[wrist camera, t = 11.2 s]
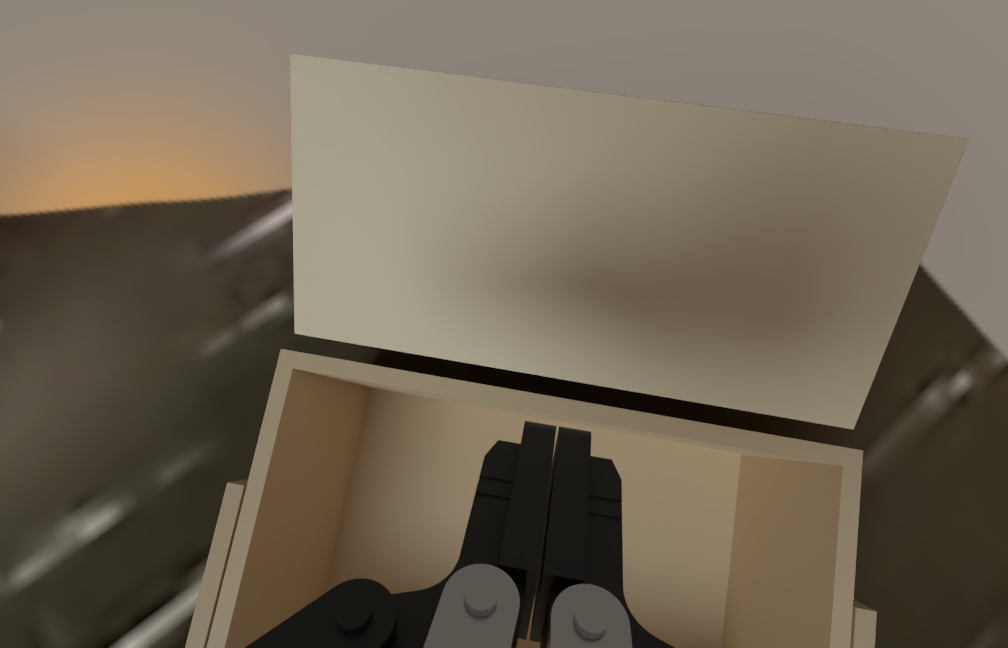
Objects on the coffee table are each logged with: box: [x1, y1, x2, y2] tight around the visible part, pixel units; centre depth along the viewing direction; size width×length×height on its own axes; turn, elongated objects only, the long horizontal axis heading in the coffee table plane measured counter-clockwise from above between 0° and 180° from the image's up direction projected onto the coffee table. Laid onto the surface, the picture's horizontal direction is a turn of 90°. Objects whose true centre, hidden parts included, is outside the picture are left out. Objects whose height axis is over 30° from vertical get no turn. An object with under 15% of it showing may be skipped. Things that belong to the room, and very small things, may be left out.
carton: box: [185, 349, 877, 648], centre depth 23 cm, size 21×19×10 cm
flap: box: [290, 54, 969, 430], centre depth 18 cm, size 19×9×1 cm
